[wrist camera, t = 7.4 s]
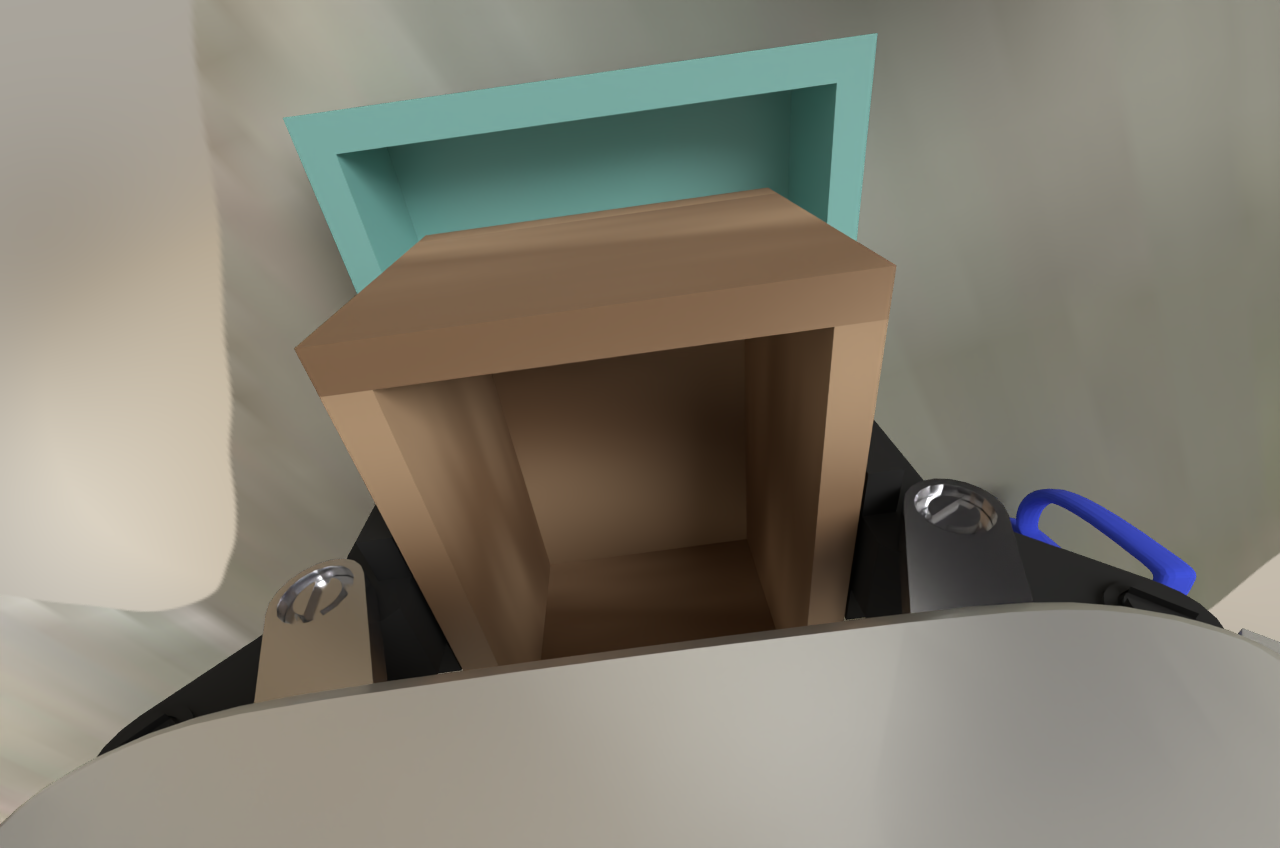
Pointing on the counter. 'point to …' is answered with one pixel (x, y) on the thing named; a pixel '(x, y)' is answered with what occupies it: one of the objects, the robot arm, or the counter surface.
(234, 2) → the counter surface
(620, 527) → the walnut crate
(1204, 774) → the robot arm
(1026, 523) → the mug
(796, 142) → the teal crate
